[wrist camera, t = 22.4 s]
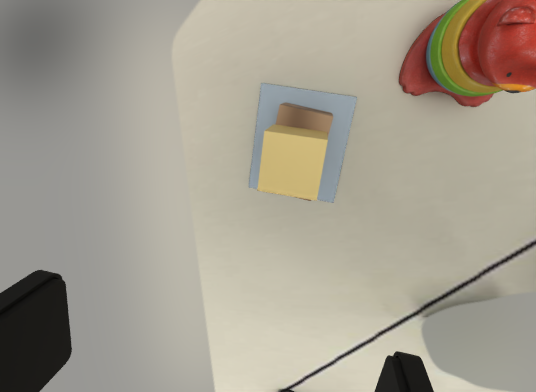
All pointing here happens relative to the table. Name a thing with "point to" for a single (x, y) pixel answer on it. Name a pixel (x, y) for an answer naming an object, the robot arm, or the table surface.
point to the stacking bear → (475, 52)
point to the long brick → (304, 118)
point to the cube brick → (292, 161)
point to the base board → (323, 101)
